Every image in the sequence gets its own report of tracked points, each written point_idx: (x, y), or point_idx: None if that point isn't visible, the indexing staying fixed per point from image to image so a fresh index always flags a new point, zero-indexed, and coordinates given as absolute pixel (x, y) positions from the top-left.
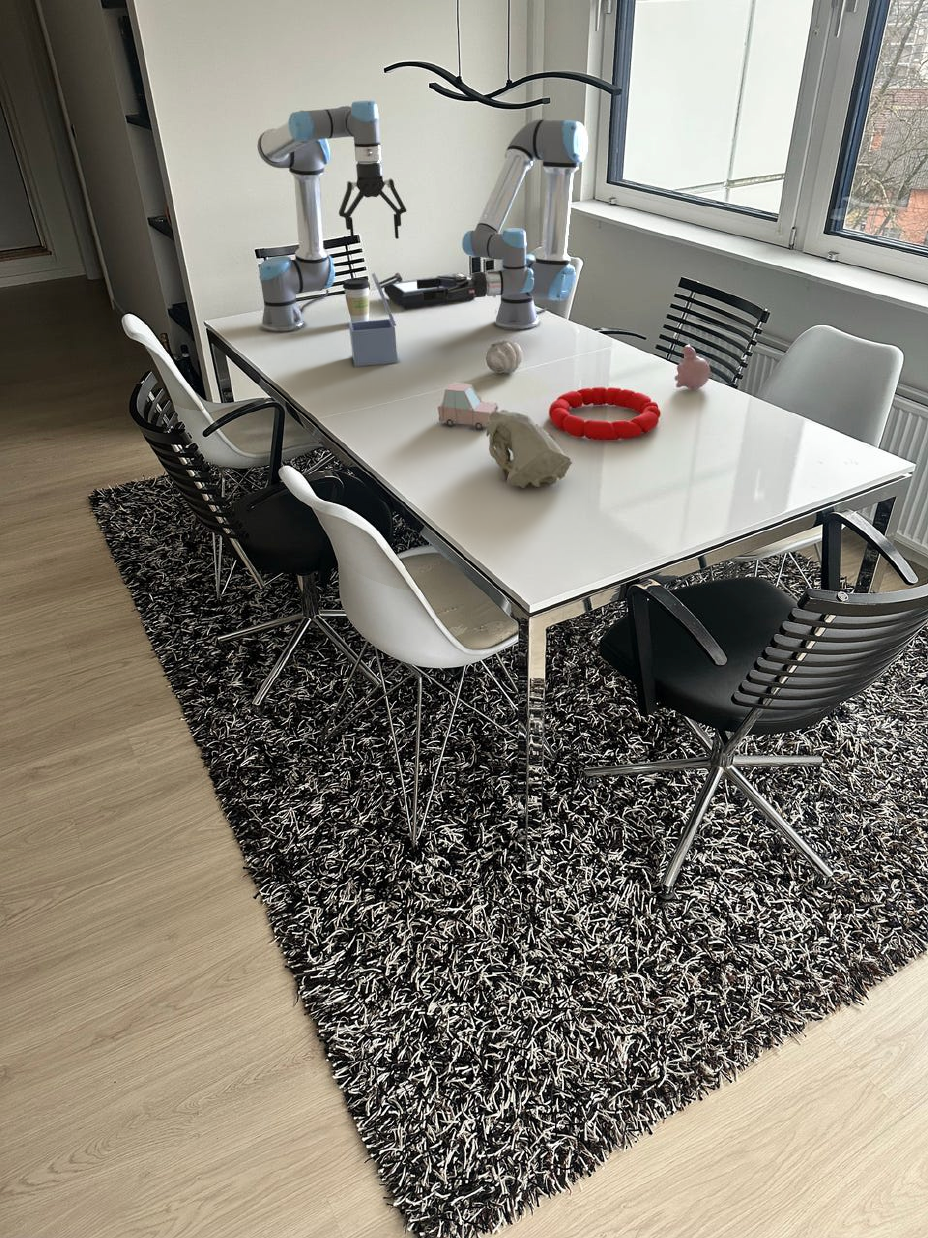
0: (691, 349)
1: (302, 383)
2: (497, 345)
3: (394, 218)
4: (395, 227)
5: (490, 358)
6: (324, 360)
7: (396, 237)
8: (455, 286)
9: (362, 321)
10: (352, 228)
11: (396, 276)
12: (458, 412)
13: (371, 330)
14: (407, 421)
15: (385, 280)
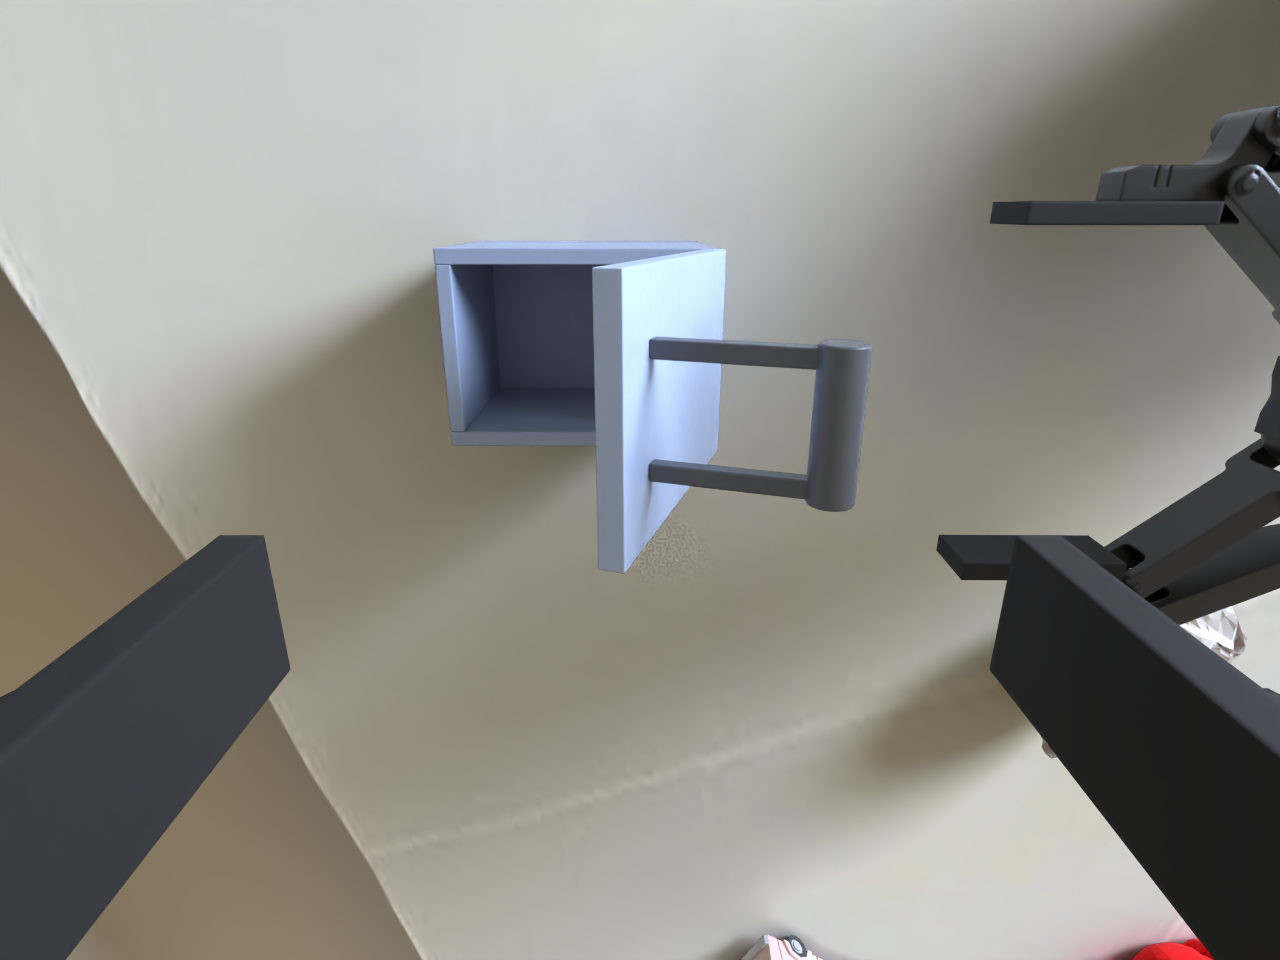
0: None
1: (269, 546)
2: None
3: (1242, 892)
4: (1090, 799)
5: (1049, 756)
6: (338, 262)
7: (1001, 679)
8: (1247, 507)
9: (523, 252)
10: (150, 834)
11: (817, 439)
12: None
13: (568, 444)
14: (639, 926)
15: (713, 362)
